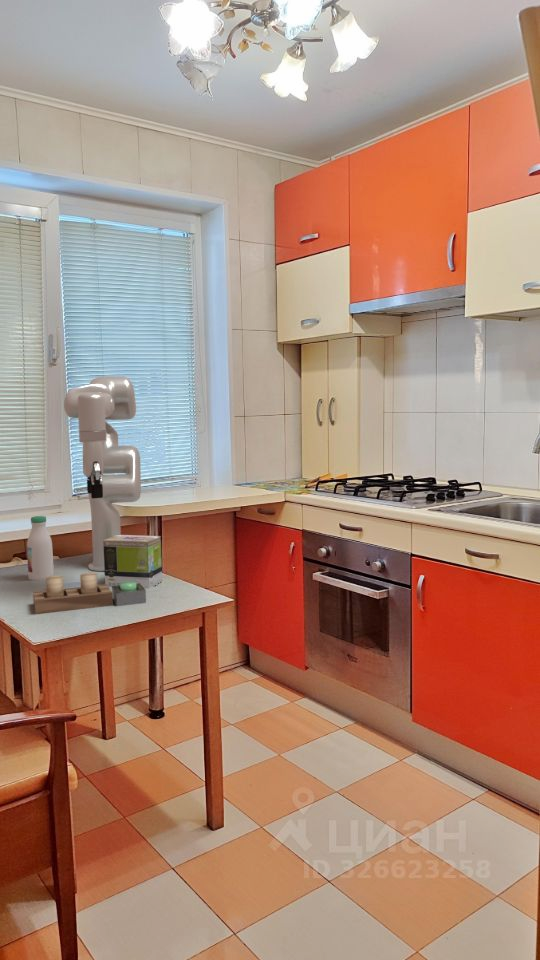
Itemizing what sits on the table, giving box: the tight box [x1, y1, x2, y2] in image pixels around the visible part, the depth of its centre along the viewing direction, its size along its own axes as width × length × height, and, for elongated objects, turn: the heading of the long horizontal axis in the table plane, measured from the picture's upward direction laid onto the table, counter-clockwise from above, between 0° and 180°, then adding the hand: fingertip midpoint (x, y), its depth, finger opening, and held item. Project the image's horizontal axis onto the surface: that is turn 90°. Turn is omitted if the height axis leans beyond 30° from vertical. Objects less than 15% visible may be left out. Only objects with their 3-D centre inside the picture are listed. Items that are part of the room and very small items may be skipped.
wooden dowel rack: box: [32, 583, 114, 615], centre depth 193 cm, size 10×20×4 cm, turn 112°
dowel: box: [45, 575, 64, 598], centre depth 191 cm, size 4×4×8 cm
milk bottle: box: [26, 515, 55, 581], centre depth 223 cm, size 8×8×20 cm
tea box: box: [103, 534, 163, 589], centre depth 215 cm, size 15×10×15 cm, turn 74°
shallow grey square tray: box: [63, 580, 81, 589], centre depth 205 cm, size 13×13×2 cm
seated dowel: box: [79, 572, 98, 594], centre depth 194 cm, size 4×4×8 cm
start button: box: [120, 582, 137, 591], centre depth 196 cm, size 4×4×3 cm
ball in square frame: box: [111, 583, 147, 607], centre depth 196 cm, size 8×8×4 cm
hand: (95, 495), depth 204 cm, fingers open, 9 cm apart
